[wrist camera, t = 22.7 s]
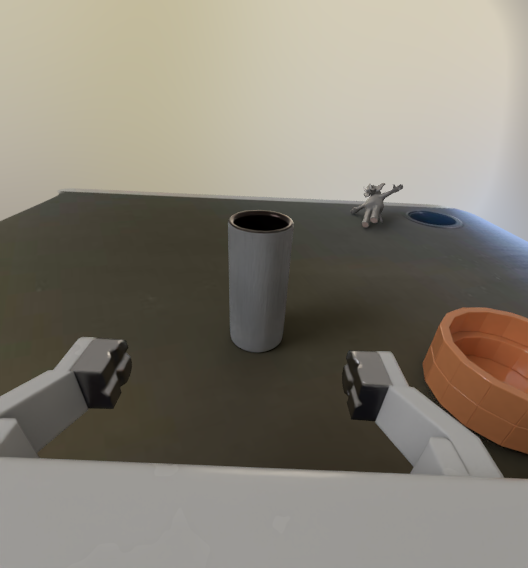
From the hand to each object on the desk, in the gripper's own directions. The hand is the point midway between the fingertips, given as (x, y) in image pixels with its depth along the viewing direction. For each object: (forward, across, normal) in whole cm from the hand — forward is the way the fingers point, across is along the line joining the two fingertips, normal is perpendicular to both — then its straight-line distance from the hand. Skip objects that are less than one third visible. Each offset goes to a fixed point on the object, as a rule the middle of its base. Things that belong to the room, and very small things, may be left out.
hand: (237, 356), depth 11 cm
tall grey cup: (+12, -1, +9) cm, 15 cm away
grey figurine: (+43, -20, +9) cm, 49 cm away
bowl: (+6, -18, +9) cm, 21 cm away
